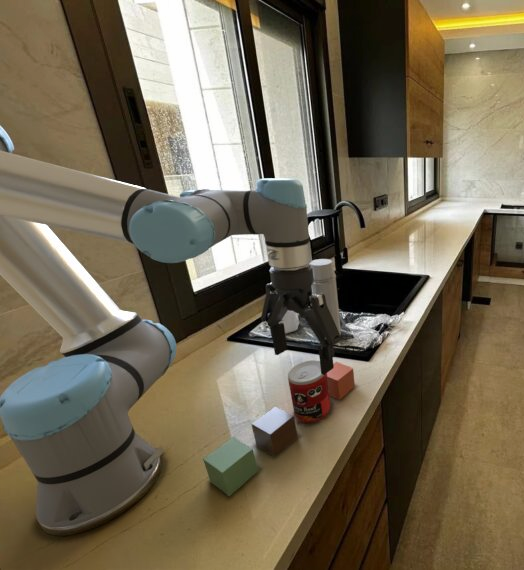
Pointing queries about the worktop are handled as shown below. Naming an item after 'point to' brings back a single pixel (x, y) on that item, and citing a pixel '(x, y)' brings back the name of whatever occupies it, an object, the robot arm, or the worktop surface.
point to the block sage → (231, 465)
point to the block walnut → (274, 430)
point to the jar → (290, 321)
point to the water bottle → (326, 286)
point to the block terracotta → (340, 380)
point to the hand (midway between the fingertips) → (303, 361)
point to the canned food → (309, 391)
